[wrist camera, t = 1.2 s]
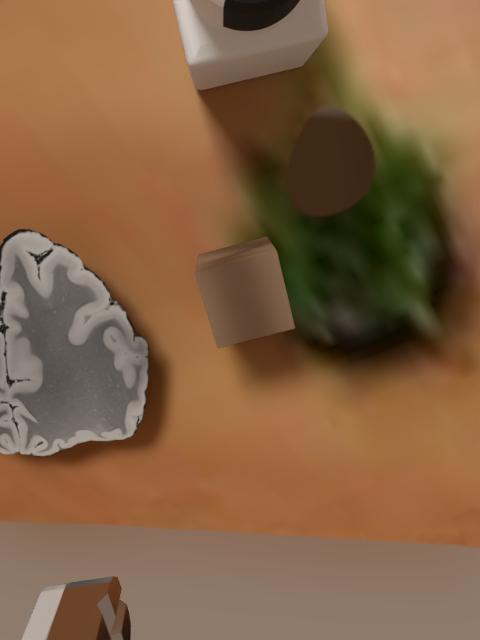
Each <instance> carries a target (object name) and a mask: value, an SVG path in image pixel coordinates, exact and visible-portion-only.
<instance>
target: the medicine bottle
mask: <svg viewBox="0 0 480 640" xmlns="http://www.w3.org/2000/svg"><path fill="white" fill-rule="evenodd" d="M173 3H174V7H175V11H176V16H177V20H178V25H179V29H180V34H181V38H182V42H183V47H184V51H185V56H186V60H187V64H188V67H189V70H190V73H191V77H192V80H193V83H194V86H195V88H196V89H198V90H205V89H209V88H213V87H218V86H222V85H226V84H230V83H235V82H239V81H243V80H247V79H251V78H256V77H260V76H264V75H268V74H273V73H277V72H281V71H285V70H290V69H294V68H298V67H301V66H303V65H304V64H305V62H306V61H307V60H308V59H309V57H310V56H311V55H312V54H313V52H314V51H315V50H316V49H317V47H318V46H319V45H320V44H321V42H322V41H323V40H324V39H325V37H326V36H327V34H328V23H327V15H326V8H325V0H173Z"/></svg>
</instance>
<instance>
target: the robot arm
mask: <svg viewBox="0 0 480 640" xmlns="http://www.w3.org/2000/svg"><path fill="white" fill-rule="evenodd" d="M121 589H122V588H121V586H120V583H119V580H118V577H107V578H100V579H93V580H86V581H78V582H72V583H68V584H61V585H54V586H47V587H46V588H45V589H44V590H43V591H42V592H41V594H40V596H39V598H38V601H37V603H36V605H35V608H34V610H33V613H32V615H31V617H30V620H29V623H28V625H27V627H26V630H25V632H24V634H23V637H22V639H21V640H130V637H131V636H130V635H131V623H130V615H129V611H128V607H127V604H126V603H124V602H123V601H121V600H120V594H121Z"/></svg>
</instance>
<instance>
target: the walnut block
mask: <svg viewBox="0 0 480 640" xmlns="http://www.w3.org/2000/svg"><path fill="white" fill-rule="evenodd" d="M195 275H196V279H197V282H198V285H199V289H200V292H201V295H202V299H203V302H204V305H205V308H206V312H207V315H208V318H209V322H210V325H211V328H212V332H213V335H214V338H215V341H216V345H217V348H222V347H226V346H229V345H233V344H237V343H241V342H245V341H249V340H252V339H256V338H260V337H264V336H268V335H272V334H275V333H279V332H283V331H287V330H291V329H295V326H294V321H293V317H292V313H291V309H290V304H289V300H288V296H287V292H286V288H285V283H284V279H283V275H282V271H281V266H280V262H279V258H278V254H277V251H276V249H275V248H274V246H273V245H272V243H271V242H270V240H269V239H268V237H267V236H266V237H263V238H259V239H255V240H251V241H248V242H244V243H240V244H237V245H233V246H229V247H226V248H222V249H218V250H214V251H211V252H207V253H203V254H200V255H199V258H198V262H197V266H196V270H195Z"/></svg>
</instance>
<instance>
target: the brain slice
mask: <svg viewBox="0 0 480 640" xmlns="http://www.w3.org/2000/svg"><path fill="white" fill-rule="evenodd" d="M148 348H149V347H148V345H147V342H146V340H145V339H144V338H142V337H141V336H136V333H135V329H134V327H133V325H132V323H131V321H130V320H129V318H128V316H127V313H126V311H125V309H124V308H123V307H122V306H121V305H119V304H118V302H117V301H113V300H112V298H111V297H110V292H109V290H108V288H107V287H106V285H105V283H104V282H103V281H102V280H101V279H100V278H99V277H98V276H97V275H96V274H95V273H94V272H93V271H91V270H90V269H89V268H88V267H86V266H85V265H84V264H83V263H82V261H81V259H80V257H79V256H78V255H76V254H75V253H74V252H72V251H71V250H70V249H68V248H66V247H64V246H62V245H60V244H56V243H53V242H52V241H51V240H50V239H49V238H48V237H46V236H45V235H43V234H41V233H39V232H36V231H32V230H29V229H19V230H17V231H15V232H13V233H11V234H10V235H9V236H7V237H6V238H5V239H4V240H3V242H2V244H1V246H0V453H2V454H15V453H16V452H18V451H19V452H20V453H21V455H34V456H49V455H52V454H55V453H57V452H58V451H60V450H64V449H68V448H70V447H73V446H75V445H77V444H78V443H82V442H86V441H91V440H93V441H112V440H123V439H126V438H129V437H131V436H132V435H133V434H134V433H136V430H137V428H138V426H139V423H140V422H141V420H142V417H143V414H144V410H145V407H146V402H147V393H146V389H147V384H148V372H149V358H148Z"/></svg>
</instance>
